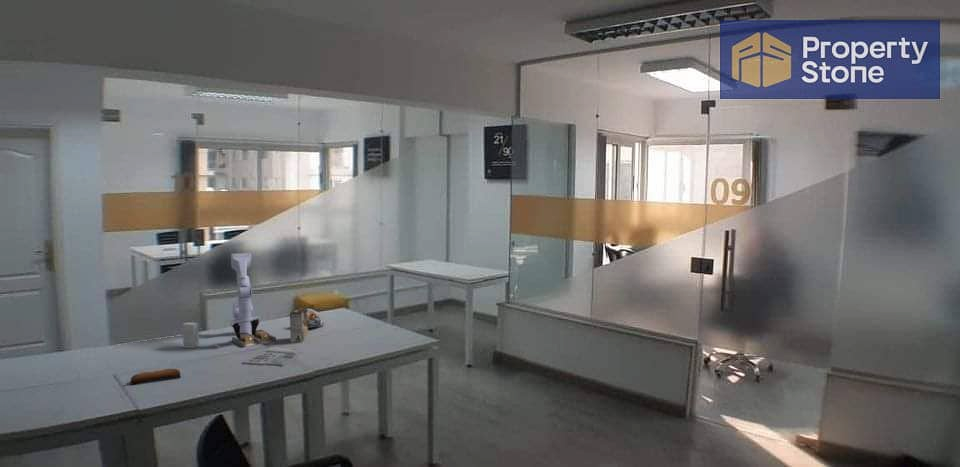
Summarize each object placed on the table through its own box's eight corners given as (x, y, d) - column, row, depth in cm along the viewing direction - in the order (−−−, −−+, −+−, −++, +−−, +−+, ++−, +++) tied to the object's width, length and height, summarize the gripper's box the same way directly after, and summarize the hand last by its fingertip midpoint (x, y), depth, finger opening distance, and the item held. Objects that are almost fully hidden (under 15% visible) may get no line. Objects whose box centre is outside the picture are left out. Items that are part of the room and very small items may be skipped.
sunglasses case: (179, 371, 245) (179, 361, 241) (180, 384, 240) (180, 373, 236) (130, 379, 236) (130, 368, 232) (131, 392, 231) (130, 381, 227)
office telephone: (270, 345, 279) (307, 348, 275) (270, 350, 280) (308, 353, 275) (242, 359, 257) (281, 362, 253) (242, 364, 257) (282, 368, 253)
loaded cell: (253, 338, 295) (253, 330, 295) (261, 337, 298) (261, 329, 298) (261, 342, 288) (261, 334, 288) (269, 340, 291) (269, 333, 291)
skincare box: (199, 345, 283) (198, 322, 282) (194, 348, 279) (193, 324, 278) (188, 345, 284) (187, 322, 283) (182, 347, 280) (182, 324, 279)
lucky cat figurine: (328, 325, 326) (327, 306, 319) (315, 337, 317) (313, 319, 309) (307, 315, 331) (306, 297, 323) (293, 327, 322) (292, 309, 314)
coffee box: (296, 338, 298) (295, 308, 297) (308, 338, 298) (307, 308, 297) (290, 343, 289) (289, 312, 288) (302, 343, 289) (302, 312, 287)
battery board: (231, 342, 290) (231, 337, 290) (263, 336, 302) (263, 331, 302) (243, 348, 280) (243, 343, 279) (275, 342, 291) (275, 337, 291)
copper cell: (238, 341, 290) (238, 333, 289) (246, 339, 292) (246, 332, 292) (246, 345, 283) (245, 337, 282) (254, 343, 286) (253, 335, 285)
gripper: (233, 313, 278) (234, 340, 280) (262, 309, 289) (263, 335, 290) (228, 311, 283) (229, 337, 285) (256, 307, 294) (257, 332, 295)
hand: (245, 336), depth 288 cm, fingers open, 7 cm apart
